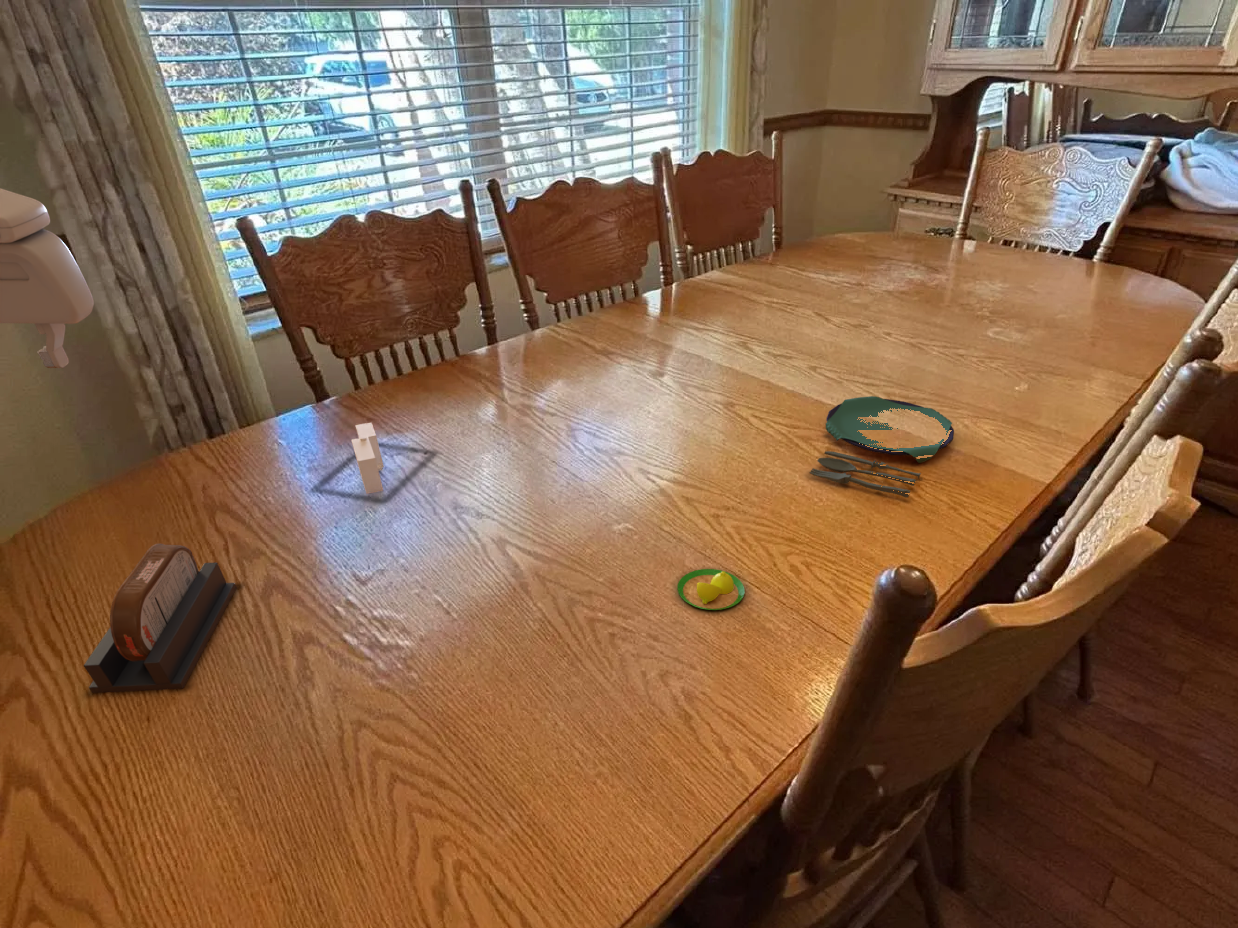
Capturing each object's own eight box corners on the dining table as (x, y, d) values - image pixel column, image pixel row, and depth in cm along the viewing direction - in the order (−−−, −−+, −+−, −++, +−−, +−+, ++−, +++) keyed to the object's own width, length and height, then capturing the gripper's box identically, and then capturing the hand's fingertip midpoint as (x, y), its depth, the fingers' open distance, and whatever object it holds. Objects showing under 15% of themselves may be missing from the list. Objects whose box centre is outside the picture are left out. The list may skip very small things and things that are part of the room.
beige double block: (385, 503, 103) (376, 466, 99) (314, 492, 105) (302, 455, 102) (434, 454, 114) (428, 419, 110) (368, 445, 116) (360, 410, 112)
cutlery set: (962, 425, 123) (966, 412, 121) (919, 508, 103) (924, 493, 102) (845, 400, 130) (847, 387, 128) (784, 473, 110) (787, 459, 109)
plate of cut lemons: (734, 620, 85) (737, 601, 83) (668, 604, 87) (669, 585, 85) (751, 581, 90) (753, 562, 88) (688, 567, 92) (689, 548, 91)
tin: (187, 589, 87) (156, 528, 81) (214, 588, 87) (186, 527, 81) (131, 678, 76) (92, 615, 70) (163, 677, 76) (126, 614, 70)
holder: (93, 694, 75) (73, 666, 73) (159, 592, 88) (145, 564, 85) (184, 690, 76) (168, 661, 73) (237, 589, 89) (225, 561, 86)
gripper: (-230, 217, 62) (-122, 378, 72) (25, 220, 64) (98, 378, 73) (-174, 200, 67) (-80, 353, 76) (62, 203, 68) (127, 354, 78)
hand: (9, 365), depth 75 cm, fingers open, 8 cm apart
